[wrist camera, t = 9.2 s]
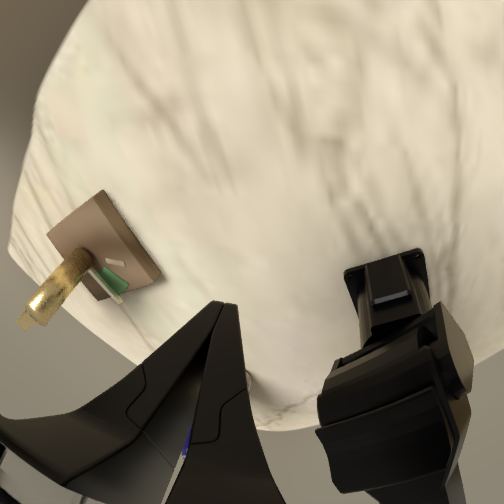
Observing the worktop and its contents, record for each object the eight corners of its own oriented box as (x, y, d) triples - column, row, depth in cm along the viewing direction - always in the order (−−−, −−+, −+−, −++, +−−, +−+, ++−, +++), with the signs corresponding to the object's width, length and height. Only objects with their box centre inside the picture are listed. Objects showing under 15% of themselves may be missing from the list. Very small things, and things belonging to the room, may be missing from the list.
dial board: (161, 272, 26) (153, 283, 25) (104, 291, 30) (97, 301, 29) (102, 189, 22) (91, 198, 21) (54, 226, 26) (45, 234, 25)
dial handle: (119, 315, 29) (85, 372, 23) (56, 276, 28) (16, 325, 22) (128, 275, 25) (84, 341, 19) (56, 232, 24) (5, 284, 18)
